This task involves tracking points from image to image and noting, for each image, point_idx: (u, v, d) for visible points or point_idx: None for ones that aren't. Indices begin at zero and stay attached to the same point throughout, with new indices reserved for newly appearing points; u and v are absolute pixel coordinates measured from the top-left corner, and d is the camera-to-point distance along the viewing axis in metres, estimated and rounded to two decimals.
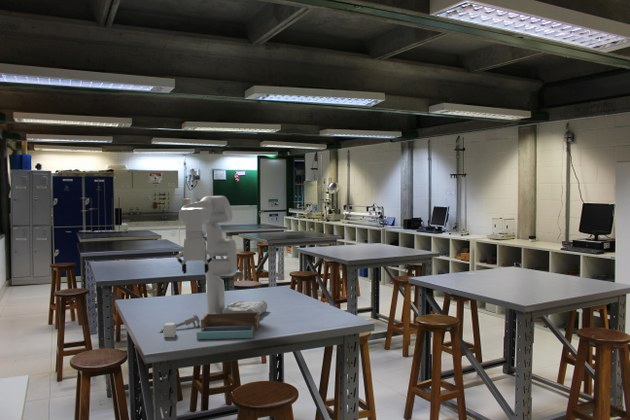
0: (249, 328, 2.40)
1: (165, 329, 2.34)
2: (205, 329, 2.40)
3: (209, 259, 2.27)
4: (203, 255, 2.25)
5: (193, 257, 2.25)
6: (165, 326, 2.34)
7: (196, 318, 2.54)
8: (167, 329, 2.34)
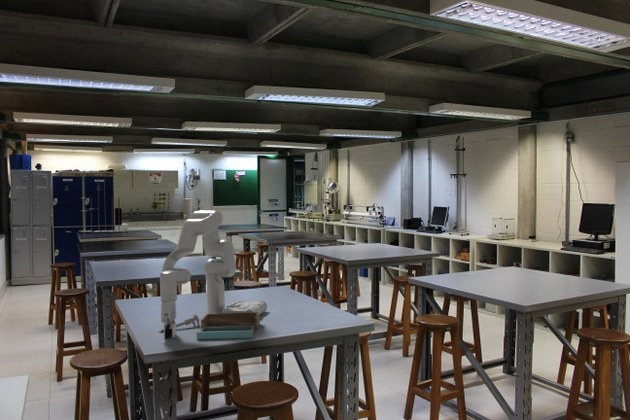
0: (249, 328, 2.40)
1: None
2: (205, 329, 2.40)
3: (174, 320, 2.40)
4: None
5: (174, 317, 2.36)
6: None
7: (196, 318, 2.54)
8: None
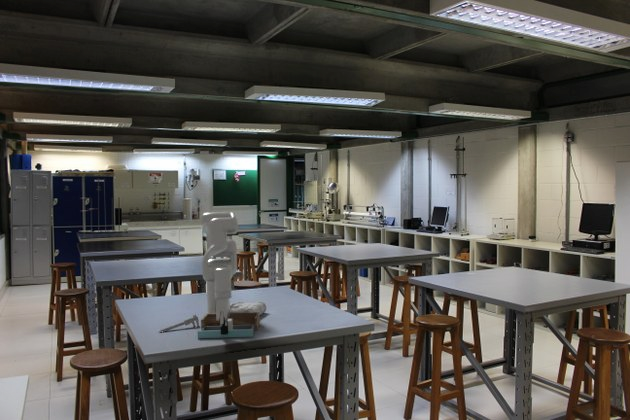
0: (249, 327, 2.42)
1: None
2: (206, 328, 2.42)
3: (226, 319, 2.32)
4: None
5: (228, 315, 2.29)
6: None
7: (195, 318, 2.53)
8: None
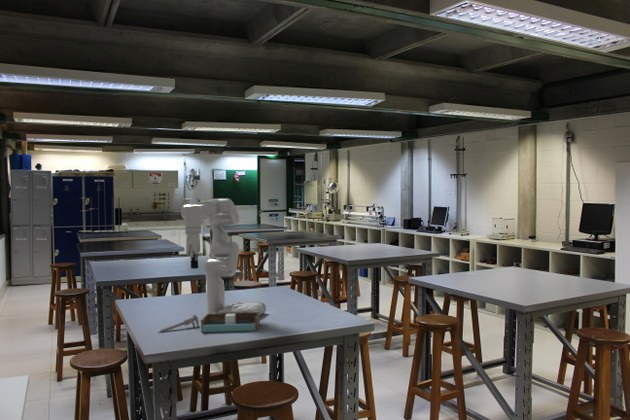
0: (252, 322, 2.53)
1: (226, 320, 2.45)
2: (210, 323, 2.52)
3: None
4: None
5: (198, 250, 2.42)
6: (227, 317, 2.45)
7: (195, 318, 2.53)
8: (228, 319, 2.45)
